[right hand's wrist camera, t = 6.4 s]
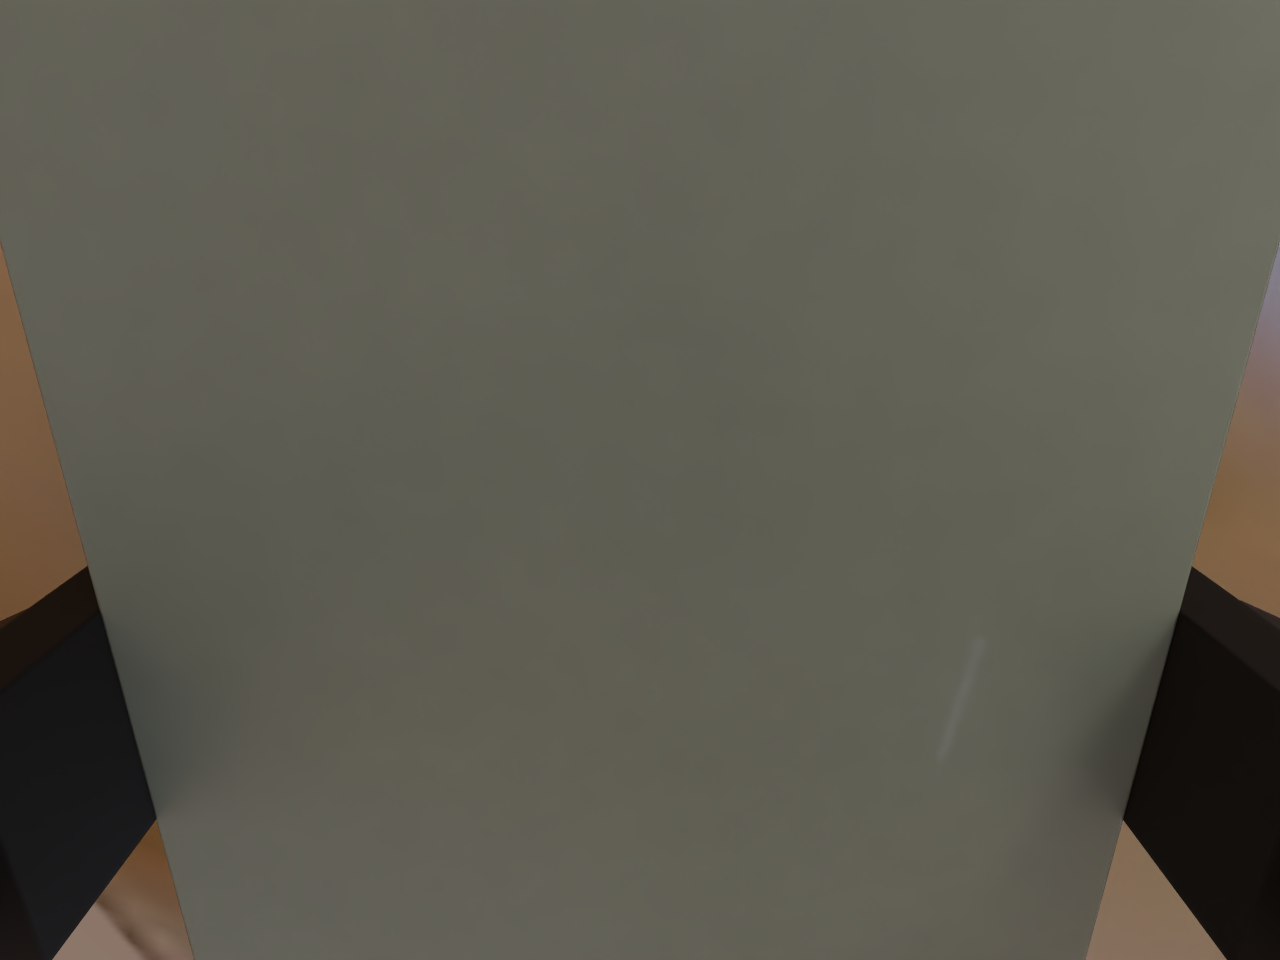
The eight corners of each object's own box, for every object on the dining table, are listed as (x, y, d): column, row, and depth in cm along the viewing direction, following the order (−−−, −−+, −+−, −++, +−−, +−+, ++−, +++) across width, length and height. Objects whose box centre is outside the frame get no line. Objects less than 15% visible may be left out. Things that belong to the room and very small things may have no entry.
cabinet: (308, -380, 13) (-563, -1822, 4) (972, -380, 13) (1846, -1832, 4) (416, 596, 20) (203, 1000, 10) (863, 596, 20) (1075, 1003, 10)
